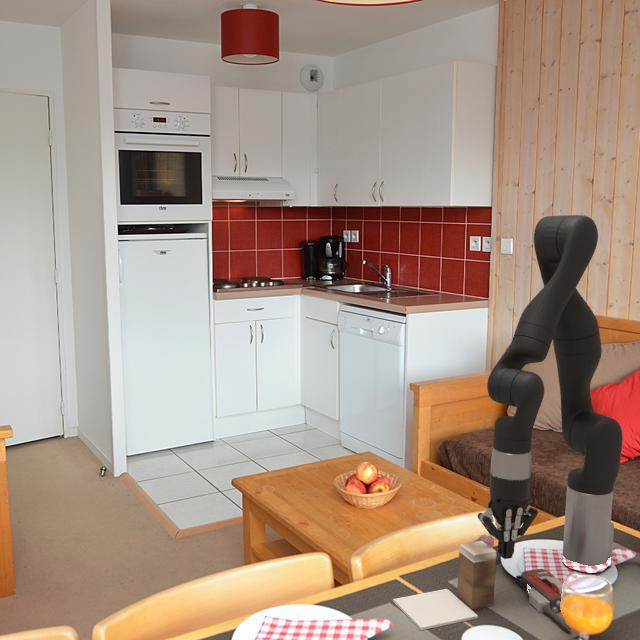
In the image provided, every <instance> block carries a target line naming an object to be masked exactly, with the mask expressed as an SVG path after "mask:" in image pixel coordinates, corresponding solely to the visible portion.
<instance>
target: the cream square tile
mask: <svg viewBox="0 0 640 640" xmlns="http://www.w3.org/2000/svg"><path fill="white" fill-rule="evenodd" d="M392 603H394V604H395V606H397V607H398V609H399V610H400V611H402V613H403V614H405V616H406V617H408V619H409V620H410V622H411V621H412V623H413V624H414V625H415V626H416V627H417V628H418V630H420V631H424V630H428V629H433V628H440V627H442V626H443V627H444V626H447V625H453V624H458V623H463V622H466V621H467V622H468V621H473V620H476V619H479V615H478V614H477V613H476V612H474V610H471V609H470V608H468V607H467V606H466V605H465V604H464V603H463V602H462V601H460V600H459V599H458V598H457V596H456V595H455V594H454V593H453V592H452V591H450V590H449V589H448V588H444V589H439V590H434V591H428V592H423V593H418V594H413V595H409V596H408V595H407V596H402V597H398V598H393V599H392Z"/></svg>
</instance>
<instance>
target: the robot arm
mask: <svg viewBox="0 0 640 640" xmlns="http://www.w3.org/2000/svg"><path fill="white" fill-rule="evenodd" d="M598 240H599V230H598V227H597V224H596V223H595V221H594V220H593V219H592V218H591V217H589V216H587V215H582V214H580V215H579V214H573V215H571V214H569V215H566V214H565V215H549V216H544V217H542V218H540V219H539V221H538V222H537V223H536V226H535V228H534V232H533V244H534V252H535V257H536V260H537V264H538V269H539V272H540V277H541V281H542V283H543V284H542V285H543V288H541V290H540V291H539V292H538V293H537V294H536V295H535V296H534V297H533V298H532V299H531V300H530V301H529V303H528V304H527V305H526V307H525V308H524V309H523V312H522V313H521V314H520V317H519V320H518V322H517V325H516V328H515V330H514V334H513V337H512V340H511V341H510V342H511V343H510V344H509V346H508V347H507V348H506V349H505V351H504V353H503V354H502V356H501V357H500V359H498V361H497V362H496V364H495V365H494V367H493V368H492V370H491V371H490V373H489V376H488V379H487V385H486V389H487V394H488V396H489V398H490V399H491V400H492V401H493V402H496V403H498V404H501V405H506V406H510V407H515V408H516V410H515V414H514V415H504V416H501V417H499V418H497V419H496V420H495V423H494V426H493V427H494V429H493V445H492V446H493V447H492V453H491V458H490V472H489V473H490V474H489V491H488V492H489V494H490V499H489V502H488V504H487V509H486V510H485V511H484V512H478V513H477V519H478V520H479V522H481V524H482V526H483V527H484V528H485V530H486V531H487V532H488V535H489V536H492V538H495V539H496V540H497V553H498V555H499V556H500V557H501V558H502V559H503V560H508V559H512V558H513V555H514V553H515V547H516V545H515V543H516V540H517V538H518V537H519V536H520V537H523V536H524V535H525V533H526V532H527V531H528V530H529V527H531V524H532V523H533V522H534V520H535V518H536V517H537V516H538V514H539V510H538V509H536V508H534V507H533V506H531V505H530V501H529V498H530V493H531V491H530V490H531V477H532V476H531V475H532V450H531V449H532V437H533V429H534V426H535V423H536V419H537V416H538V414H539V410H540V408H541V406H542V402H543V399H544V396H545V384H544V381H543V379H542V377H541V376H540V375H539V374H538V373H535V372H533V371H528V370H523V368H525V367H526V366H527V365H529V364H538V363H541V362H544V361H545V359H546V358H547V356H548V353H549V350H550V348H551V345H553V350H554V356H555V361H556V367H557V377H558V383H559V392H560V411H561V412H560V414H561V415H560V416H561V430H562V431H561V432H562V437H563V440H564V442H565V444H566V446H567V447H569V448H570V449H571V450H573V451H575V452H577V453H579V454H581V455H584V462H583V467H577V468H573V469H571V470H570V471H569V472H568V474H567V480H566V482H567V483H566V498H565V509H564V510H565V512H564V514H565V515H564V526H563V527H564V528H563V539H562V540H563V542H562V543H563V544H562V555H563V556H564V557H565V558H566V559H568V560H570V561H573V562H577V563H580V564H583V565H588V566H595V565H600V564H604V563H606V562H607V560H608V558H610V557H613V547H614V545H613V544H614V533H615V525H614V523H613V522H612V511H613V510H612V509H613V499H614V498H613V497H614V486H615V482H616V481H617V478H618V477H619V473H620V463H621V456H622V449H623V441H624V439H623V431H622V426H621V424H620V423H619V422H618V420H616V419H614V418H612V417H610V416H608V415H604V414H602V413H599V412H595V410H594V408H593V407H594V406H593V403H592V396H591V384H592V380H593V378H594V375H595V372H596V371H597V369H598V366H599V363H600V361H601V358H602V353H603V352H602V341H601V334H600V333H601V332H600V327H599V322H598V318H597V317H596V315H595V314H594V312H593V310H592V309H591V307H590V306H589V304H588V302H586V300H585V299H584V297H583V296H582V295H581V293H580V292H579V291H578V289H577V287H578V285H579V283H580V281H581V279H582V278H583V275H584V273H585V271H586V270H587V268H588V267H589V264H590V262H591V260H592V258H593V257H594V253H595V252H596V248H597V246H598V243H599V242H598ZM494 521H495V522H494Z"/></svg>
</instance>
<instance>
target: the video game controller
mask: <svg viewBox="0 0 640 640" xmlns="http://www.w3.org/2000/svg"><path fill="white" fill-rule="evenodd" d="M494 538H495V537H493V536H491V535H490V534H486V533H484V534H482V535H480V536H479V537H478V538H477V539H475V540H473V541H472V542H477V541H483V542H484V543H485V544H487V545H488V546H490V547H491V548H493V549H494V546H495V541H494V540H495V539H494Z"/></svg>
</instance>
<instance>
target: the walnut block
mask: <svg viewBox="0 0 640 640" xmlns="http://www.w3.org/2000/svg"><path fill="white" fill-rule="evenodd" d="M458 549H459V551H458V554H459V555H458V572H457V591H456V592H457V593H456V595H457V596H456V597H457V598H458V599H459V600H460V601H462V602H463V603H464V604H465V605H466V606H467V607H468V608H470V609H471V610H472V611H474V610H480V609H485V608H488V607H493V606H495V605H494V604H495V603H494V602H495V587H496V586H495V583H496V569H497V567H496V566H497V550H496V549H495V548H494V547H493V548H491V547H490V546H488V545H487V544H485V543H484V542H483V541H477V542H473V541H471V542H466V543H461V544H460V543H459V548H458Z"/></svg>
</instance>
